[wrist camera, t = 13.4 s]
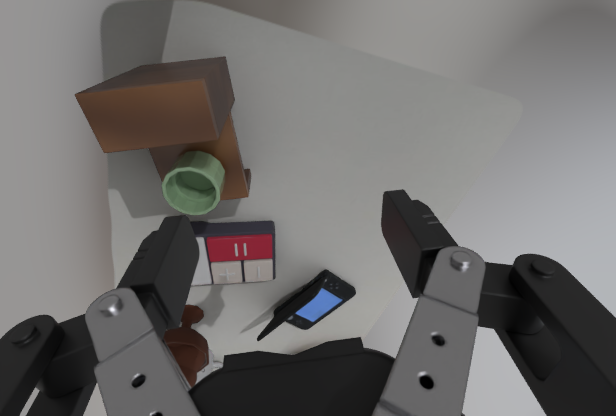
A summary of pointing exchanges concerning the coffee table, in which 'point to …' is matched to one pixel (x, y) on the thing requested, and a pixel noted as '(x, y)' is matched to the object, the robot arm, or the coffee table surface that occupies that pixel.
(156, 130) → the shelf
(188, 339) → the ice cream bowl
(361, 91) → the coffee table surface
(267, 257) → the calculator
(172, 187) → the bowl
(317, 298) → the game console
